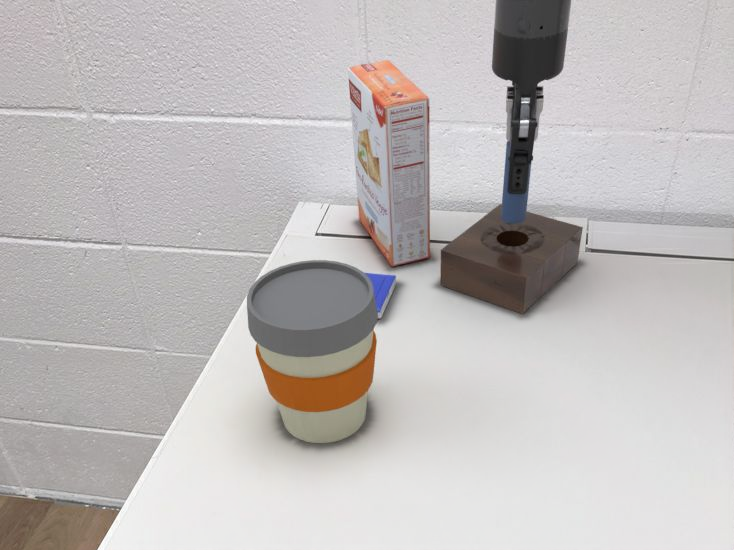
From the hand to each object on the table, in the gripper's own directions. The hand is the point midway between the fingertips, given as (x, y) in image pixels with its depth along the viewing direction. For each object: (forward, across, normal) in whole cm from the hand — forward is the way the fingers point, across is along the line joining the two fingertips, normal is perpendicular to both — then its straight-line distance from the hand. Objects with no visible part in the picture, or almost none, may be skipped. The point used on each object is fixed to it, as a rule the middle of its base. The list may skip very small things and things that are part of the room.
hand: (516, 185), depth 95 cm
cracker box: (+12, +8, +16) cm, 22 cm away
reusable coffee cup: (+12, -29, +19) cm, 37 cm away
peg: (+4, 0, 0) cm, 4 cm away
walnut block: (+12, 0, 0) cm, 12 cm away
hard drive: (+12, -6, +21) cm, 25 cm away
